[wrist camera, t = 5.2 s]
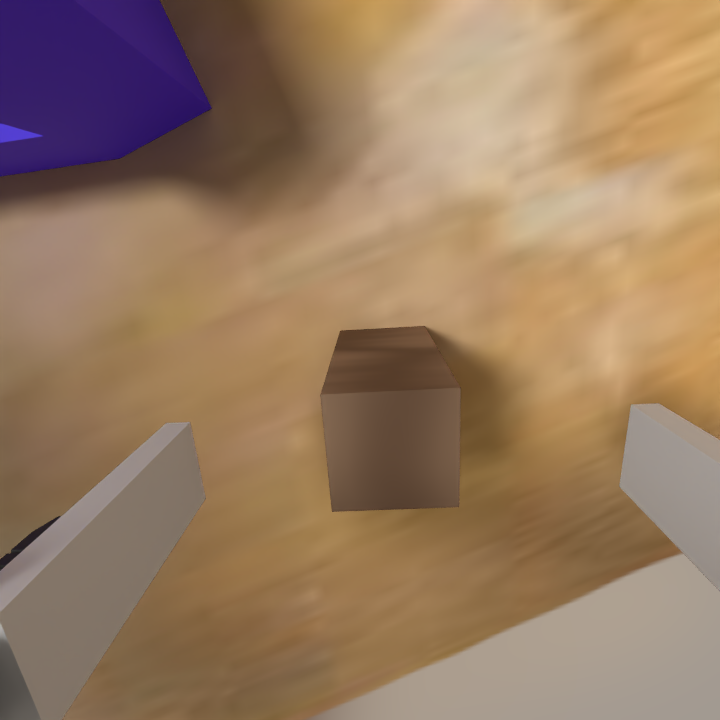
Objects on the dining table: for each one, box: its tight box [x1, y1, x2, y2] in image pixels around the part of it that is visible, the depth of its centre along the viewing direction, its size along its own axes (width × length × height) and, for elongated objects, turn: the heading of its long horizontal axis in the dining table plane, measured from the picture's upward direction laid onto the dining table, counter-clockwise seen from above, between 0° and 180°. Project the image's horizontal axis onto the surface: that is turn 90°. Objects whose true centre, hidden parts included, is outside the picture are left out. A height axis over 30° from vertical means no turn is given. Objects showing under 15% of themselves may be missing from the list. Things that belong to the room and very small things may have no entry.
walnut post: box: [321, 326, 461, 512], centre depth 16 cm, size 4×4×8 cm
